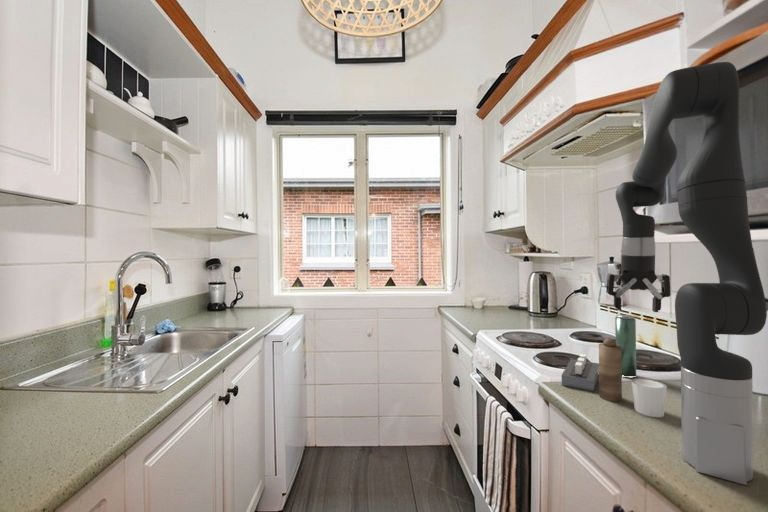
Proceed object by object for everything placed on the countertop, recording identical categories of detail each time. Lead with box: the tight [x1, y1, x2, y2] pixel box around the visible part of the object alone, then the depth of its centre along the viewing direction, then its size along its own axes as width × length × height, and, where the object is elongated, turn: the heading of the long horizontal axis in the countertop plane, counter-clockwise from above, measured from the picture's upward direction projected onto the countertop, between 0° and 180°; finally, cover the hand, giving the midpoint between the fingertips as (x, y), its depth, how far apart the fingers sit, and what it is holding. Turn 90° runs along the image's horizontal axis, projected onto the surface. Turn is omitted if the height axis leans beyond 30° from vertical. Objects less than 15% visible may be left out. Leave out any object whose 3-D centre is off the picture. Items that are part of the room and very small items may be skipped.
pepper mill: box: [598, 337, 623, 403], centre depth 89 cm, size 5×5×16 cm
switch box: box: [561, 358, 599, 392], centre depth 103 cm, size 18×8×3 cm, turn 143°
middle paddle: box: [576, 357, 585, 370], centre depth 103 cm, size 3×2×3 cm, turn 143°
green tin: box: [614, 314, 637, 377], centre depth 105 cm, size 5×5×19 cm
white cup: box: [630, 378, 668, 418], centre depth 81 cm, size 7×7×7 cm
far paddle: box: [579, 353, 588, 365], centre depth 107 cm, size 3×2×3 cm, turn 143°
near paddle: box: [575, 362, 583, 374], centre depth 99 cm, size 3×2×3 cm, turn 143°
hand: (636, 310), depth 94 cm, fingers open, 8 cm apart
